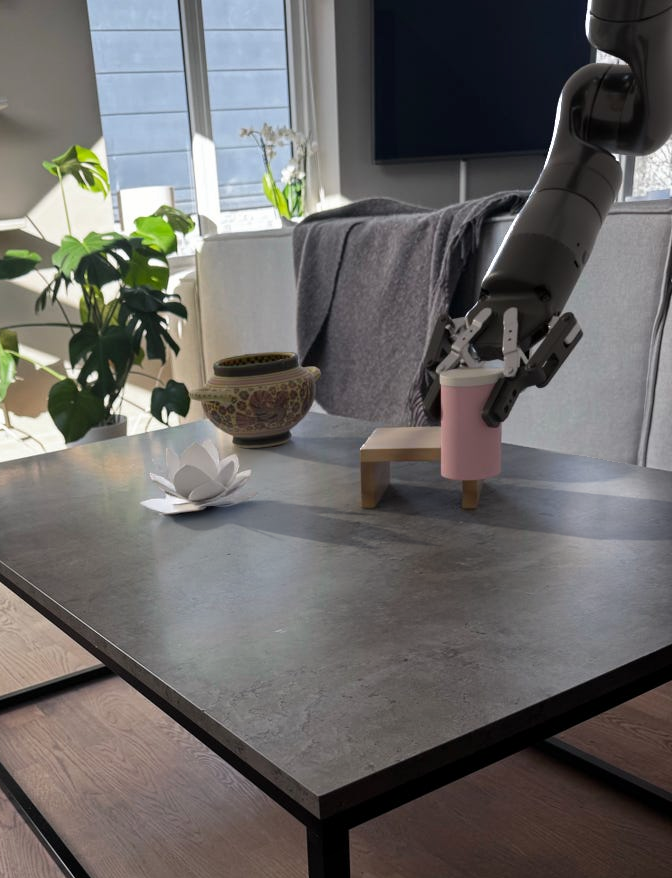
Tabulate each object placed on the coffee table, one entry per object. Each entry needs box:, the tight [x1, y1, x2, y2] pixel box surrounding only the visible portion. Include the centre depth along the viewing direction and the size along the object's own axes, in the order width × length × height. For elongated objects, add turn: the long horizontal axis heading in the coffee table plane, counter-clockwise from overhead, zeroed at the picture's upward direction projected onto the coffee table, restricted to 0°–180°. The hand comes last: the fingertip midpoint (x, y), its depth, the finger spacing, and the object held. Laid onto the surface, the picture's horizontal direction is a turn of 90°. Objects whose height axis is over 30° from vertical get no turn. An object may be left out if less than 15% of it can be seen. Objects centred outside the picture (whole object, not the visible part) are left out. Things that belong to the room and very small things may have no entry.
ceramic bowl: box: [188, 351, 322, 449], centre depth 142 cm, size 24×18×15 cm
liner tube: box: [440, 366, 504, 481], centre depth 82 cm, size 5×5×9 cm
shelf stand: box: [359, 425, 485, 510], centre depth 108 cm, size 13×11×7 cm
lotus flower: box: [140, 437, 260, 516], centre depth 114 cm, size 14×15×9 cm
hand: (459, 419), depth 80 cm, fingers closed on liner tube, 5 cm apart
